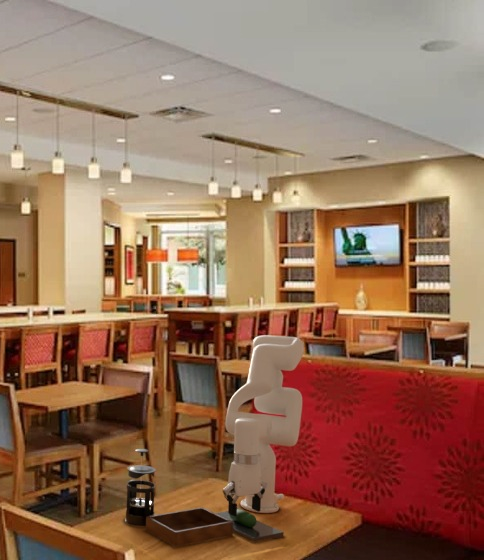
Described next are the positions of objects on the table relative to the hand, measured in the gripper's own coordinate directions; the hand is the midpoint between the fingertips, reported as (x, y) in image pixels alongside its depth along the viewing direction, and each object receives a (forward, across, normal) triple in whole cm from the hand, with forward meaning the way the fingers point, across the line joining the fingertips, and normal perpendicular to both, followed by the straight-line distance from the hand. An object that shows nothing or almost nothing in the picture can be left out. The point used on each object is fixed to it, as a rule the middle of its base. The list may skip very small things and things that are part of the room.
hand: (244, 512), depth 227 cm
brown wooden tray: (+4, +20, -3) cm, 20 cm away
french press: (+5, +28, -18) cm, 33 cm away
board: (+5, 0, 0) cm, 5 cm away
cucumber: (+3, +1, 0) cm, 3 cm away
